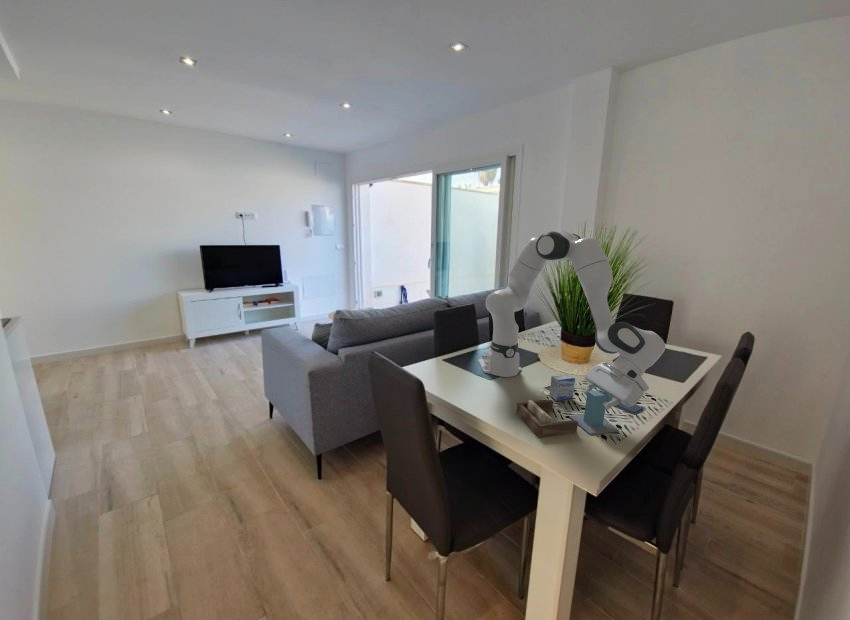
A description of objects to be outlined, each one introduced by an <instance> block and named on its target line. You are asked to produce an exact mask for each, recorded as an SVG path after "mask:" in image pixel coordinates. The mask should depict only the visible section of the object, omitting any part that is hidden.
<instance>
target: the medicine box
mask: <svg viewBox="0 0 850 620" xmlns="http://www.w3.org/2000/svg"><path fill="white" fill-rule="evenodd" d="M575 383H576V378H575V377H574V376H572V374H571V375H570V374H559V375H551V377H550V385H549V386H550V389H549V396H550V397H551V398H552V399H554V400H555V401H563V400H569V399H573V398H574V392H575Z"/></svg>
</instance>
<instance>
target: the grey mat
mask: <svg viewBox="0 0 850 620" xmlns="http://www.w3.org/2000/svg"><path fill="white" fill-rule="evenodd" d="M568 418H569V419H570V421H571V420H576V421H578V426H577V427H579V428H581V429H582V430H583V431H584V432H586V433H587V434H588V435H589V436H593V435H595V436H596V435H602V434H609V433H619V432H620V429H618V428H617V427H616V426H614V425H613V424H612V423H611V422H609V421H607V420H606V419H605V418H604V421H603V425H596V426H589V425H588V424H587V423H586V422H584V421H583V419H584V413H583V414H574V415H569V416H568Z"/></svg>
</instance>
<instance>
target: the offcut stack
mask: <svg viewBox="0 0 850 620" xmlns="http://www.w3.org/2000/svg"><path fill="white" fill-rule="evenodd" d="M527 402H528V408H527V410H528V411H529V412H530V413H531V414H532V415H533V416H534V417H535V418H536V419H537V420H538V421H539V422H540V423H541V424H544V423H552V417H551V416H550V415H549V414H548V412H544V411H543V410H542V409H541V408H540V407H539V406H538V405H536V404H535V403H534V402H533V400H531V399H529V400H528V401H527Z"/></svg>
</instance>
